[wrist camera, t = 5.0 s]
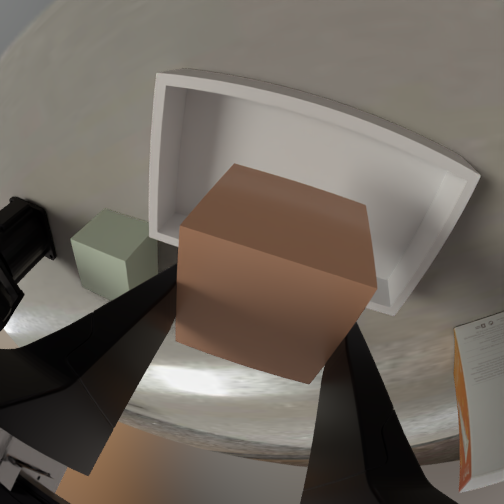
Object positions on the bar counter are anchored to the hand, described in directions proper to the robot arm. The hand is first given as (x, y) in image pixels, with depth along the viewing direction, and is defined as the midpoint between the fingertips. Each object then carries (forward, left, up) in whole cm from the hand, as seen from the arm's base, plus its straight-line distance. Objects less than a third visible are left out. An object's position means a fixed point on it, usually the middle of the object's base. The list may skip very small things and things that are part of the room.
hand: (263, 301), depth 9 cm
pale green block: (-9, +11, -10) cm, 17 cm away
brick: (0, 0, -4) cm, 4 cm away
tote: (0, 0, -10) cm, 10 cm away
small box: (-8, -21, -10) cm, 24 cm away
